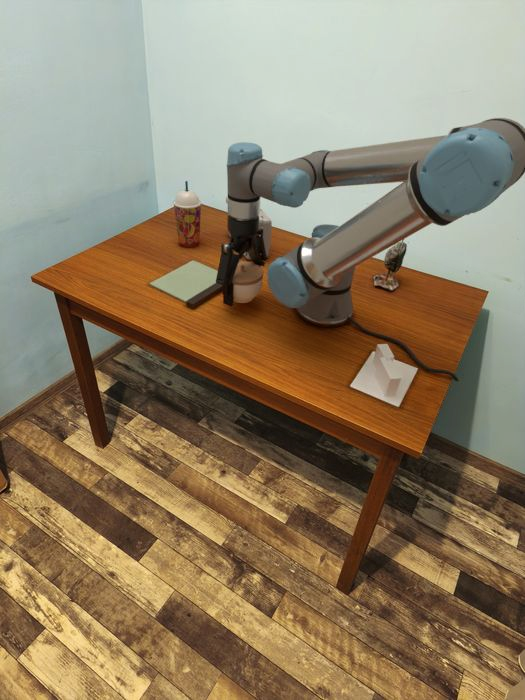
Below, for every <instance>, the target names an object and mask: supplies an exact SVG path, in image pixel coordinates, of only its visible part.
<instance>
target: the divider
mask: <svg viewBox="0 0 525 700" xmlns="http://www.w3.org/2000/svg"><path fill="white" fill-rule="evenodd" d="M219 293H222V285H221V284H218V283H215V284H213V285H212V286H210V287H208V288H207V289H205V290H203V291H202V292H200V293H198V294H197V295H195V296H194V297H192V298H190V299H189V300H187V301H186V303H185V305H186V307H188V308H190V309H192V310H194V309H196V308H197V307H199V306H201V305H202V304H204V303H205V302H207V301H209V300H210V299H212V298H213V297H215V296H216V295H218V294H219Z"/></svg>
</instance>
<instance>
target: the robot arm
mask: <svg viewBox="0 0 525 700" xmlns="http://www.w3.org/2000/svg"><path fill="white" fill-rule="evenodd" d="M226 159H227V161H226V178H227V197H228V204H227V221H226V222H227V226H226V227H227V232H228V231H229V233H230V234H231V237H230V239H229V242H227V243H224V242H222V243H221V245H220V250H221V251H220V252H221V253H220V258H219V263H218V269H217V271H218V273H217V278H216V283H218V284H221V285H222V291H221V294H222V304H223V305H226V306H228V307H230V308H232V307H234V301H233V283H231V282H232V279H233V276H234V274H235V271H236V268H237V265H238V262H239V261H240V260H242V259H243V257H244V255H243V254H244V253H245V252H248V254H249V256H250V258H251V259H250V260H251V263H254V264H257V265H259V266H260V267H261V268H262V267H264V266H265V265H266V262H265V261H267V259H268V257H267V256H266V251H265V246H264V240H263V229H261V228H259V214H260V209H261V198H263V199H265V200H268V201H270V202H273V203H276V204H278V205H280V206H284V207H289V208H292V209H293V208H294V209H295V208H299V207H301V206H303V205H304V202H306V201H307V199H308V197H309V195H310V193H311V192H312V191H314V190H319V189H327V188H336V187H347V186H348V187H351V186H352V187H353V186H364V185H378V184H393V183H394V184H395V183H400V184H398V185H397V186H395V187H394V188H393V189H391V190H390V191H388V192H387V193H386V194H384V195H382V196H381V197H380V198H378V199H377V200H375V201H374V202H373V203H371V204H370V205H368V206H367V207H365V208H364V209H362V210H361V211H359V212H358V213H356V214H355V215H353V216H352V217H350V218H349V219H348V220H346V221H345V222H343V223H342V224H340V225H337V224H336V225H335V224H318V225H315V226H314V227H313V229H312V232H311V237H309V238H307V239H306V240H304V241H302V243H300V244H299V245H297V246H296V247H295V248H293V249H292V250H290V251H289V252H287V253H285V254H283V255H282V256H281V257H279V256H278V257H276V258H275V259H274V260H273V261H272V262H271V263H270V264H269V265H268V268H267V271H266V277H267V279H266V280H267V285H268V288H269V290H270V293H272V295H273V297H274V298H275V299H276V300H277V301H278V303H280V304H282V305H284V306H285V307H286V308H290V309H295V313H296V314H297V316H298V317H299V318H300V319H301V320H302V321H305V322H306V323H308V324H310V325H313V326H317V327H321V328H337V327H341V326H343V325H345V324H347V323H348V322H350V323H351V324H352V325H354V326H355V327H356V328H357V329H358V330H360V331H362V332H364V333H365V334H367V335H371V336H373V337H377V338H380V339H384V340H386V341H390V342H393V343H395V344H397V345H398V346H399V347H401V348H403V349H404V350H405V351H406V352H407V354H408V355H409V356H410V357H411V359H412V360H413V361H414V362H415V363H416V365H417V366H419V367H421V368H422V369H424V370H425V371H427V372H430V373H435V374H444V375H448V376H450V377H451V378H452V379H453V380H454V381H455V382H460V380H459V378H458V377H457V375H456V374H455V373H453V372H452V371H450V370H446V369H437V368H432V367H429V366H427V365H426V364H425V363H423V362H421V361H420V360H419V359H418V357H417V356H416V355H415V354H414V352H412V350H411V349H410V348H409V347H408V346H407V345H406V344H405V343H403V342H402V341H400V340H398V339H396V338H394V337H391V336H387V335H385V334H380V333H377V332H374V331H371V330H368V329H367V328H365V327H363V326H362V325H360V324H359V322H358V321H355V319H353V318H352V317H353V313H354V303H353V298H352V292H351V291H352V290H351V289H352V284H353V278H354V275H355V270H356V267H357V266H359V265H361V264H362V263H364V262H366V261H369V260H370V259H371V258H373V257H375V256H376V255H379V254H380V253H382V252H384V251H386V250H387V249H390V248H392V247H393V246H394V245H395V244H397V243H398V242H402V240H403V239H404V240H405V239H407V238H408V237H410V236H412V235H414V234H415V233H417V232H419V231H420V230H422V229H424V228H426V227H428V226H430V225H431V224H434V225H436V226H439V227H445V226H446V227H447V226H448V225H450V224H452V223H454V222H455V221H458V220H459V219H461V218H462V217H464V216H469V215H471V214H475V213H479V212H480V211H482V210H484V209H485V208H487V207H488V206H489V205H491V204H493V203H494V202H495V201H496V200H498V198H499V197H500V196H501V195H502V194H503V193H504V192H506V191H507V190H508V189H509V188H510V187H513V186H514V185H515V184H516V183H517V182H519V180H520V179H521V178H522V177H523V176H524V174H525V127H524V126H523V125H522V124H520V123H519V122H518V121H515V120H513V119H510V118H506V117H493V118H489V119H486V120H483V121H481V122H477V123H473V124H469V125H464V126H458V127H453V128H451V130H449V132H448V133H447V134H444V135H437V136H430V137H422V138H416V139H408V140H401V141H393V142H385V143H379V144H371V145H363V146H356V147H355V146H354V147H350V148H349V147H347V148H341V149H334V150H328V149H322V150H315V151H313V152H311V153H309V154H306V155H304V156H301V157H298V158H294V159H291V160H288V161H285V162H282V163H278V162H274V161H270V160H267V159H265V158H264V154H263V148H262V146H260V145H259V144H257V143H253V142H244V141H243V142H235V143H233V144H230V146H229V147H228V148H227V158H226ZM228 214H229V215H228ZM404 240H403V241H404ZM261 254H262V255H261Z"/></svg>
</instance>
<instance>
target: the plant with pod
mask: <svg viewBox="0 0 525 700" xmlns="http://www.w3.org/2000/svg"><path fill="white" fill-rule="evenodd" d="M404 240H405V239H403V240H401V241H400V242H398V243H396V244H394V245H392V246H391V247H389V248H388V250H387V251H386V253H385V255H384V261H383V262H384V263H383V265H384V267H385V269H387V270H388V271H387V274H386V273H380V274H379V273H377V274H375V275H374V276H373V282H374V283H373V286H375V287H376V286H377V287H382V288H384V289H386V290H388V291H395V290H396V289H397V287H399V286H400V282H399V281H398V279H397V277H393V276H394V275H395V274H396V273H398V271H399V270H400V269H401V267H402V265H403V261H404V258H405V256H406V253H407V250H408V249H407V248H408V244H409V243H410V242H409V241H407V243H408V244H407V243H406V242H404Z"/></svg>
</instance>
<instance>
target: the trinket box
mask: <svg viewBox="0 0 525 700" xmlns="http://www.w3.org/2000/svg"><path fill="white" fill-rule="evenodd" d="M263 279H264V270H263V268H262V266H261V267H260V266H259V265H257V264H254V263H253V262H252V261H243V260H241V261H240V260H239V262H238V265H237V268H236V271H235V274H234V276H233V279H232V282H231V283H233V303H238V304H247V303H250V302H251V301H253V299H255V298H256V297H257V296H258V295H259V293H260V292H261V289H262V285H263Z"/></svg>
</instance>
